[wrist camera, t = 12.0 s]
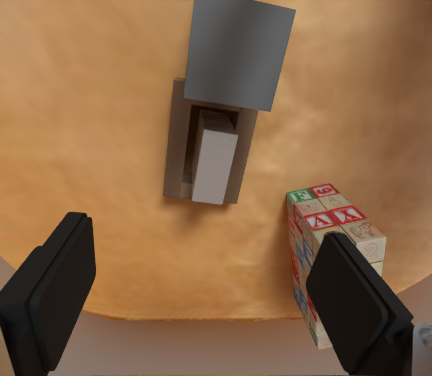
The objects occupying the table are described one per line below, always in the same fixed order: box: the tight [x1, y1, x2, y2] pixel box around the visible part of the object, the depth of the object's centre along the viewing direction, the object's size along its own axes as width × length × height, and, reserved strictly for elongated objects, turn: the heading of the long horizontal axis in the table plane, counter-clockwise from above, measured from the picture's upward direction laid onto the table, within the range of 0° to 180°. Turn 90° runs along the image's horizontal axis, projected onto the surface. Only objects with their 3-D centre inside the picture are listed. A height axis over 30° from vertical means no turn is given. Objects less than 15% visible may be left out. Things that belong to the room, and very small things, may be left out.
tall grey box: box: [192, 110, 238, 205], centre depth 28 cm, size 3×7×9 cm, turn 169°
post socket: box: [163, 0, 296, 204], centre depth 26 cm, size 9×19×11 cm, turn 170°
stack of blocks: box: [287, 184, 387, 349], centre depth 36 cm, size 21×6×12 cm, turn 11°
